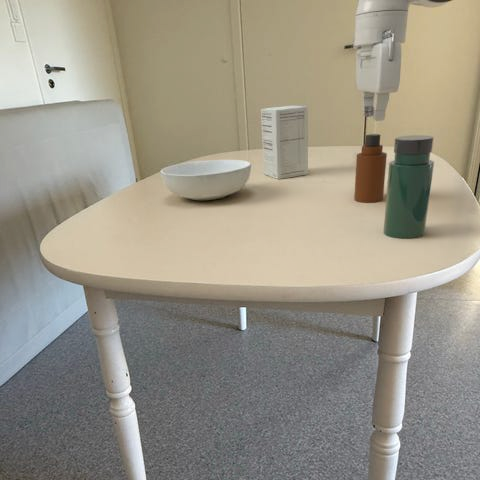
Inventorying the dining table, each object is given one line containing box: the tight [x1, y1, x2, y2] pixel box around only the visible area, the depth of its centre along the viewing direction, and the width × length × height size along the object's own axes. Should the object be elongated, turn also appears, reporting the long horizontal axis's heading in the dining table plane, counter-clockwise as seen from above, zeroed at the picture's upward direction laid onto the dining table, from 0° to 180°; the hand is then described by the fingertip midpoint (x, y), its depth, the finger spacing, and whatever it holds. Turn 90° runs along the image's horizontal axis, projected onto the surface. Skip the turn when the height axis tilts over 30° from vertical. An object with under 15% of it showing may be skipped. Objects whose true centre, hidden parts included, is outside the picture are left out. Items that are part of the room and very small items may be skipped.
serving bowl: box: [160, 159, 252, 202], centre depth 104 cm, size 21×21×7 cm
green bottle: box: [382, 134, 435, 239], centre depth 70 cm, size 6×6×14 cm
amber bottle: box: [353, 133, 388, 204], centre depth 90 cm, size 6×6×12 cm
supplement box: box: [260, 105, 309, 180], centre depth 118 cm, size 10×9×17 cm
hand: (373, 118), depth 86 cm, fingers open, 8 cm apart
